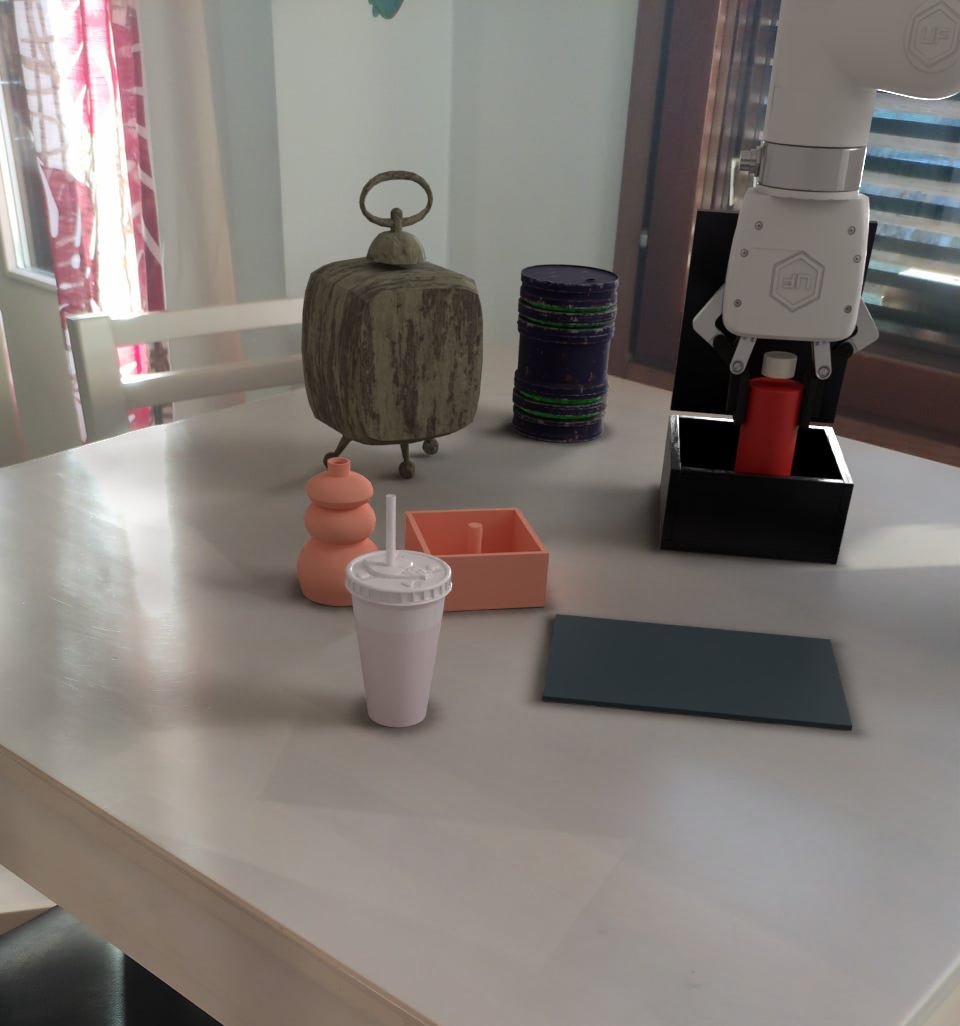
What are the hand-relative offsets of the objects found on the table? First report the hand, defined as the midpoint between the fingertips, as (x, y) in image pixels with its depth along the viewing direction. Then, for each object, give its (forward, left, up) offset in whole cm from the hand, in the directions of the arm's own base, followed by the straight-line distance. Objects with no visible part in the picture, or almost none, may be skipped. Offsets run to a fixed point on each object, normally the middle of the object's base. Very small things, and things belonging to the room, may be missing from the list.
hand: (770, 421), depth 103 cm
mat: (+5, +27, -10) cm, 29 cm away
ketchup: (0, 0, -5) cm, 5 cm away
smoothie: (+24, +37, -10) cm, 45 cm away
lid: (0, -10, +6) cm, 11 cm away
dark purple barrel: (+18, -27, -10) cm, 34 cm away
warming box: (0, -3, -10) cm, 10 cm away
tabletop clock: (+32, -9, -10) cm, 35 cm away
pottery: (+26, +17, -10) cm, 33 cm away
